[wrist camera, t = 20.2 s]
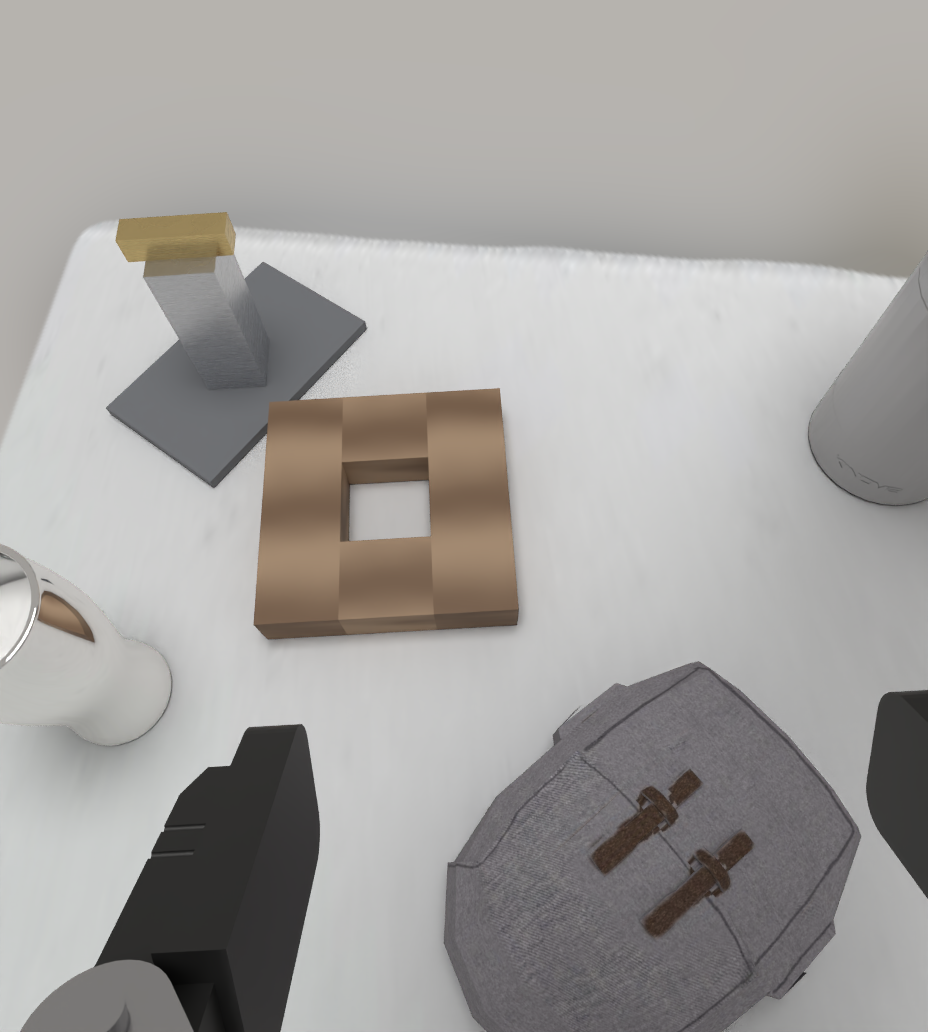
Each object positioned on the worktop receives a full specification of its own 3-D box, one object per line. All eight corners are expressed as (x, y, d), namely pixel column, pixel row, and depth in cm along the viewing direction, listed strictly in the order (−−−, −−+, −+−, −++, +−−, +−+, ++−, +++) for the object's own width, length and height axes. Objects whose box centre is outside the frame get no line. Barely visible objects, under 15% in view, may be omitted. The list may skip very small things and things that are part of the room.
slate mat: (265, 269, 58) (263, 261, 57) (366, 328, 55) (365, 321, 54) (111, 414, 52) (105, 407, 52) (214, 487, 50) (209, 482, 49)
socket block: (280, 426, 52) (269, 402, 49) (499, 413, 52) (499, 388, 49) (267, 639, 45) (253, 624, 42) (516, 624, 45) (518, 609, 42)
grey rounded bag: (662, 644, 45) (387, 872, 40) (697, 599, 37) (363, 874, 32) (864, 866, 39) (576, 1160, 35) (954, 866, 32) (601, 1242, 27)
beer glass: (204, 683, 44) (78, 600, 31) (113, 780, 42) (-67, 738, 28) (127, 612, 46) (-24, 506, 33) (36, 702, 44) (-166, 628, 30)
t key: (194, 391, 52) (112, 257, 41) (199, 344, 54) (122, 203, 42) (281, 385, 52) (223, 250, 41) (283, 339, 54) (228, 196, 42)
